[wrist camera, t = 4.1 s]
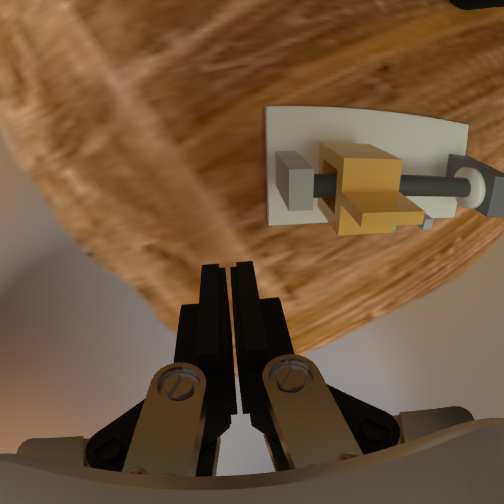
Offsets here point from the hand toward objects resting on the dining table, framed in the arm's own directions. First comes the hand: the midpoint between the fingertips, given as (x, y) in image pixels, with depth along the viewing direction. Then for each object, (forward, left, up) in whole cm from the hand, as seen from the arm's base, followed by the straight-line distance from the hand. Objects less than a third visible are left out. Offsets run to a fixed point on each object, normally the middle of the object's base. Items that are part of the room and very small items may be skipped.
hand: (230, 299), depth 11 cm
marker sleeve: (-9, 0, -13) cm, 16 cm away
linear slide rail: (-13, 0, -17) cm, 21 cm away
